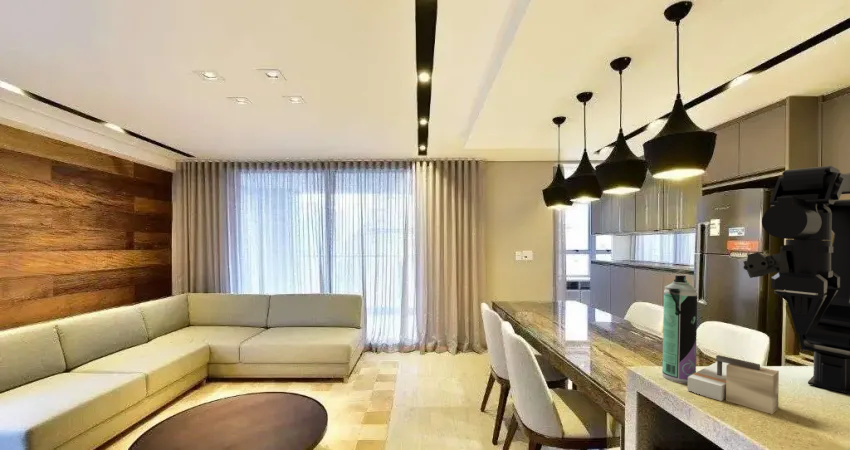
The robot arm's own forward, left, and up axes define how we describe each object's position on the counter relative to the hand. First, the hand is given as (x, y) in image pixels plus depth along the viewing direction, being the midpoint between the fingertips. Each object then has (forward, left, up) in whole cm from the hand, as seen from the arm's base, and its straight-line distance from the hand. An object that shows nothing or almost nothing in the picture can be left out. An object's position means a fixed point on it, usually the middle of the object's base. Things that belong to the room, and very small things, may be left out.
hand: (806, 330), depth 68 cm
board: (+4, -11, -12) cm, 17 cm away
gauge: (+10, -5, -12) cm, 16 cm away
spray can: (+7, -17, -12) cm, 22 cm away
